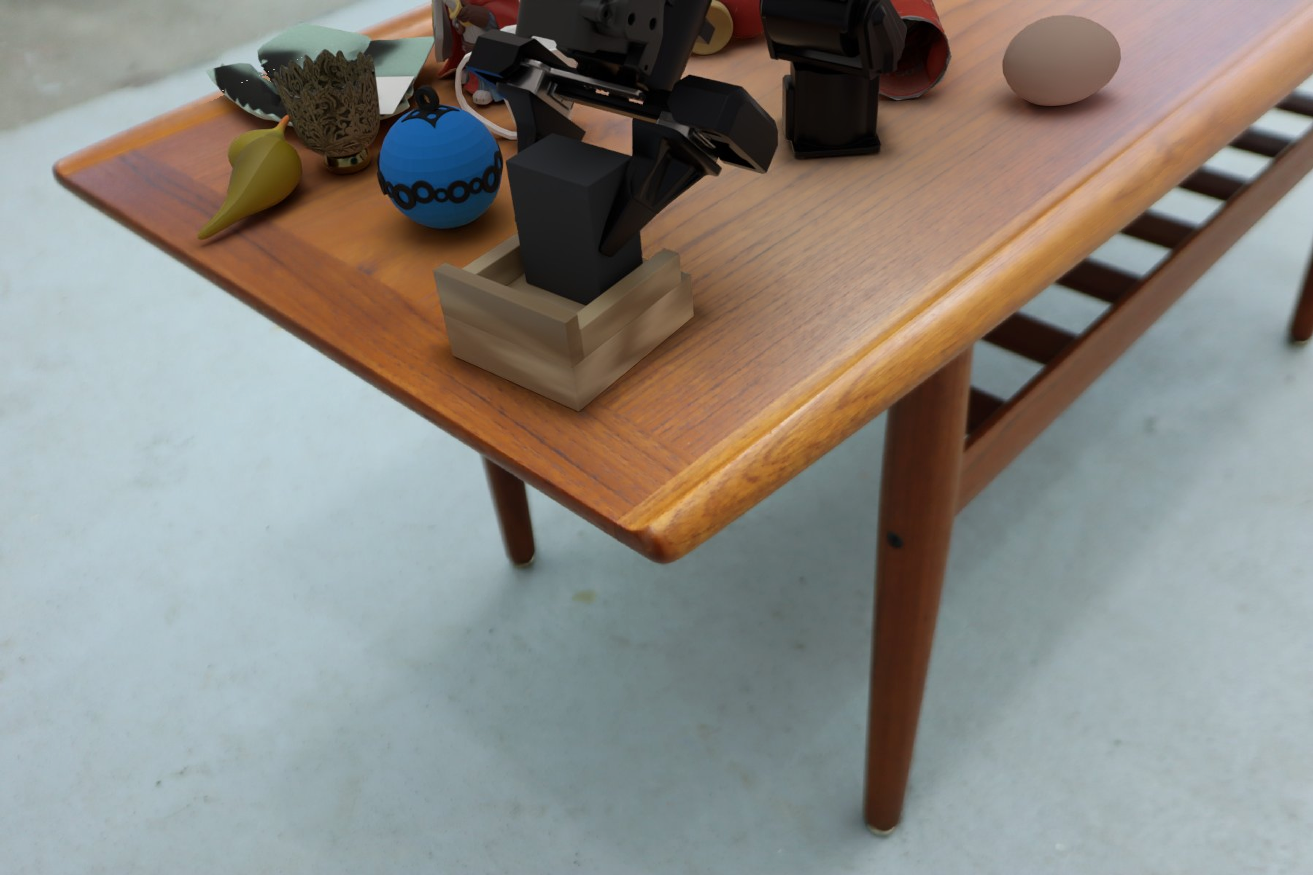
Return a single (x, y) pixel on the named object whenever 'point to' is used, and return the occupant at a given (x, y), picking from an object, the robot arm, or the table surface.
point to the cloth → (308, 39)
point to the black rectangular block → (569, 216)
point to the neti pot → (256, 176)
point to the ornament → (439, 164)
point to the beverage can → (918, 52)
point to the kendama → (731, 23)
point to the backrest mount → (559, 323)
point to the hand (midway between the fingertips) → (561, 239)
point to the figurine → (468, 36)
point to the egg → (1060, 60)
